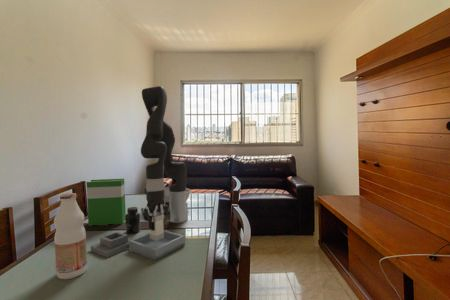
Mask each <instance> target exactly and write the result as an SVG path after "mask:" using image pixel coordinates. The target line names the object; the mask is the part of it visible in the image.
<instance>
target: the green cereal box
mask: <svg viewBox="0 0 450 300" xmlns="http://www.w3.org/2000/svg"><path fill="white" fill-rule="evenodd" d="M85 183H86V199H87V200H86V203H87V220H88V223H87V224H88V227H93V226H92V225H99V226H109V225H108V224H114V225H123V224H124V223H125V222H126V220H125V216H126V214H127V211H126V190H125V189H126V188H125V186H126V185H125V184H126V183H125V178H106V179H105V178H102V179H91V180H90V181H86V182H85ZM124 221H125V222H124Z"/></svg>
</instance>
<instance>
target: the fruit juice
mask: <svg viewBox="0 0 450 300" xmlns="http://www.w3.org/2000/svg"><path fill="white" fill-rule="evenodd" d="M76 199H77V193H76V192H75V193H73V192H69V193H68V192H67V193H62V194H60V195H59V200H60V205H59V208H58V211H57V213H56V215H55V217H54V219H53V225H54V228H55V232H54V240H53V241H54V253H55V254H54V255H55V256H54V257H55V271H56V272H55V273H56V277H57V278H58V279H59V280H70V279H75V278H77V277H79V276H82V275H83V274H84V273H85V272H87V270H88V253H87V235H86V233H87V232H86V228H85V226H84V224H85V223H84V222H85V220H86V219H85V214H84V213H83V211H82V209H81V208H80V206H79V204H78V202H77V200H76Z"/></svg>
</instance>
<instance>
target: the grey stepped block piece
mask: <svg viewBox="0 0 450 300" xmlns="http://www.w3.org/2000/svg"><path fill="white" fill-rule="evenodd" d="M132 239H133V238H130V237H129V234H127V233H122V232H120V231H114V232H111V233H109V234H106V235H103V236H100V237H99V242H98V243H94V244H92V245H90V251H91V252H93V253H96V254H98V255H100V256H103V257H104V258H110V257H112V256H114V255H117V254H119V253H121V252H123V251H126V250H129V241H130V240H132Z"/></svg>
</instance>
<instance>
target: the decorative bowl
mask: <svg viewBox="0 0 450 300" xmlns="http://www.w3.org/2000/svg"><path fill="white" fill-rule="evenodd" d="M164 189H165V199H164V202H165V201H166V202H169V203H170V199H169V186H166V187H165V186H164ZM190 195H191V189H190V188H188V187H186V202H187V201H188V199H189V197H190ZM168 213H170V204H169V209H168Z"/></svg>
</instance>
